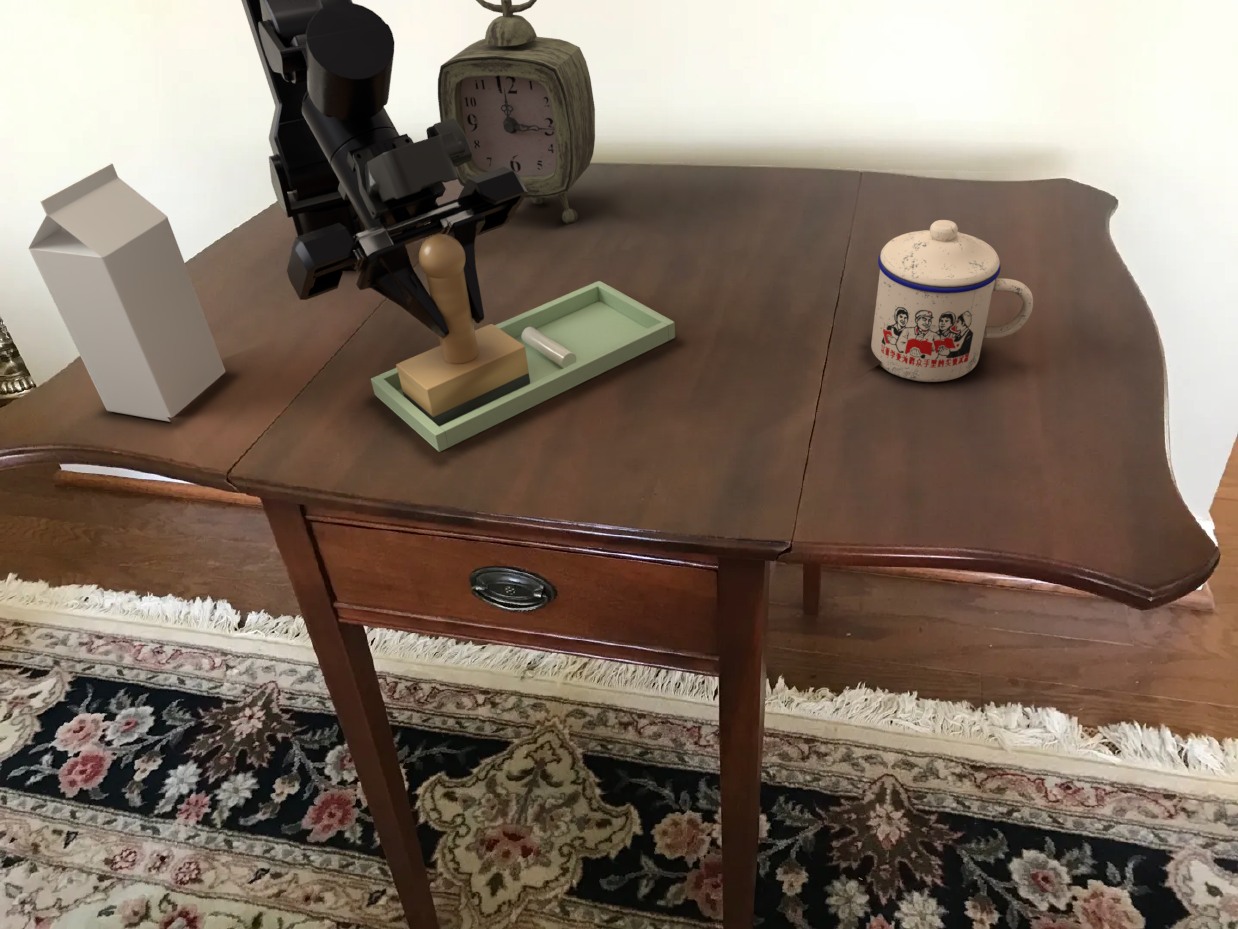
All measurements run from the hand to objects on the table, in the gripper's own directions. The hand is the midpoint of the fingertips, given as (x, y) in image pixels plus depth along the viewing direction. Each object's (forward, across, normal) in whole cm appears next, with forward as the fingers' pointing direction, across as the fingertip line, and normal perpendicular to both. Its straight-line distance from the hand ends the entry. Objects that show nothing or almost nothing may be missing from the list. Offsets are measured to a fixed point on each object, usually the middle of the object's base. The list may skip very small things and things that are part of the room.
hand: (463, 328), depth 73 cm
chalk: (+3, +9, +5) cm, 11 cm away
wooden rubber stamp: (+4, 0, +6) cm, 7 cm away
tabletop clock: (-15, +25, +26) cm, 39 cm away
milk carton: (-9, -19, +20) cm, 29 cm away
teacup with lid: (+20, +32, -9) cm, 39 cm away
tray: (+4, +6, +6) cm, 10 cm away
